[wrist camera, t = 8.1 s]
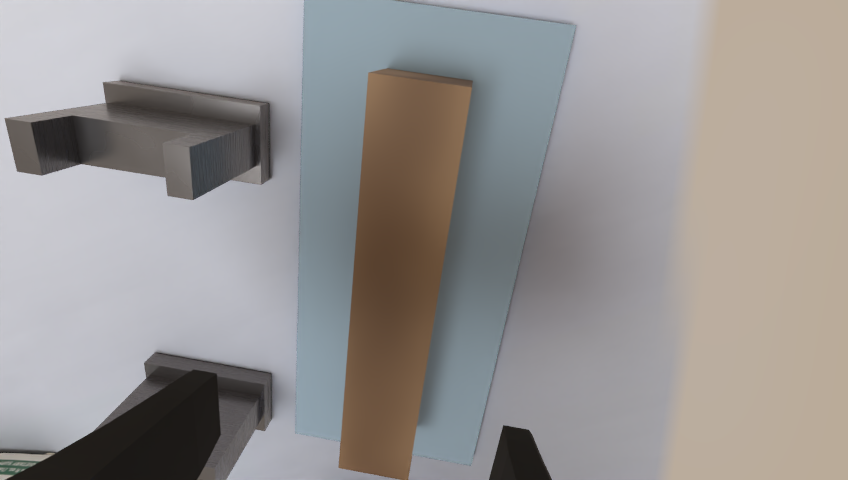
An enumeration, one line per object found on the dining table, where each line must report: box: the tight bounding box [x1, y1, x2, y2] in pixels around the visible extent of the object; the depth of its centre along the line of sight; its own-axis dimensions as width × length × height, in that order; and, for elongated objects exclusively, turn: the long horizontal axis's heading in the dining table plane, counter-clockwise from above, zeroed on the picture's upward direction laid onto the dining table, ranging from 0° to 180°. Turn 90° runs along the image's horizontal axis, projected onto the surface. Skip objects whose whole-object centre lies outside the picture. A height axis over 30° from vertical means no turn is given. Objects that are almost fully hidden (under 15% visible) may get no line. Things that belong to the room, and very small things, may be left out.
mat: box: [295, 0, 576, 466], centre depth 19 cm, size 9×20×1 cm, turn 173°
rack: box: [5, 81, 271, 480], centre depth 18 cm, size 6×16×5 cm, turn 173°
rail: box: [339, 68, 473, 480], centre depth 18 cm, size 3×16×3 cm, turn 173°
